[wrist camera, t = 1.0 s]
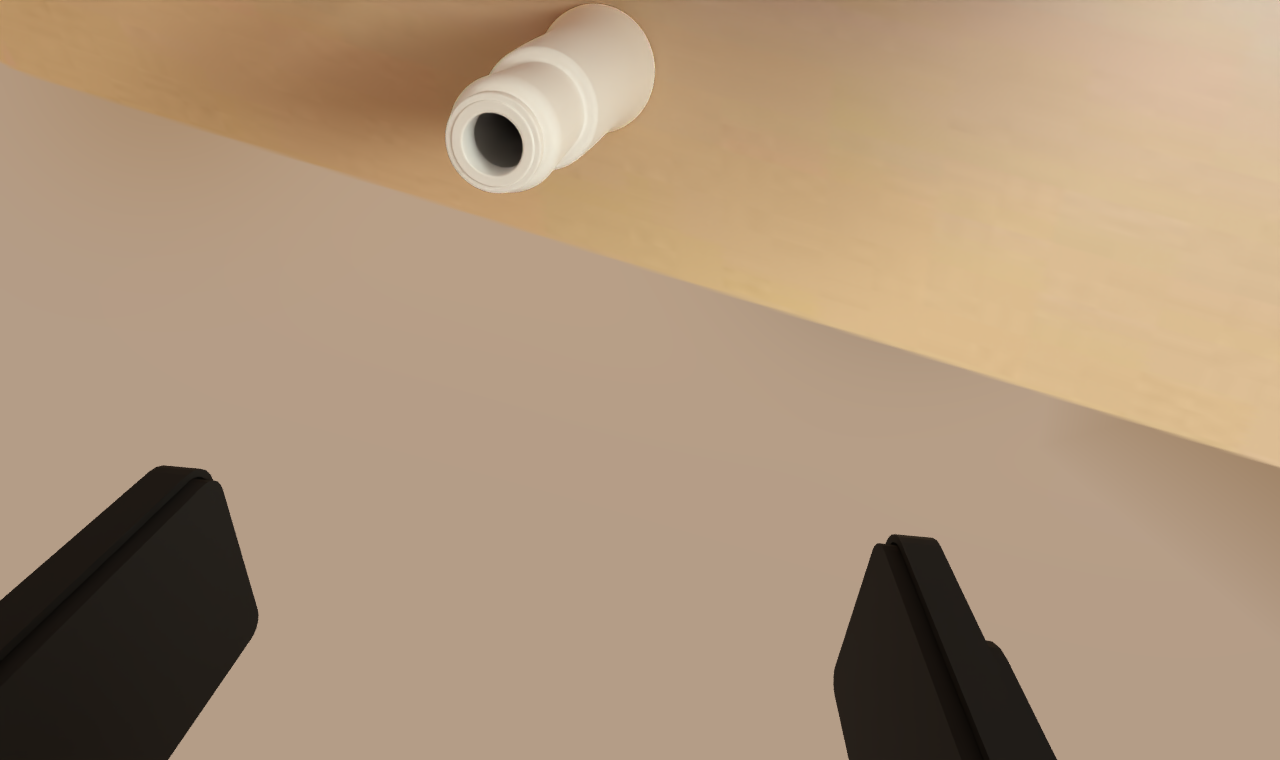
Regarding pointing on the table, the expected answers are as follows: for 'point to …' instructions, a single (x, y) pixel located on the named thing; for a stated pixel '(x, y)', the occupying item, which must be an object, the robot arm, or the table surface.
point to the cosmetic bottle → (551, 100)
